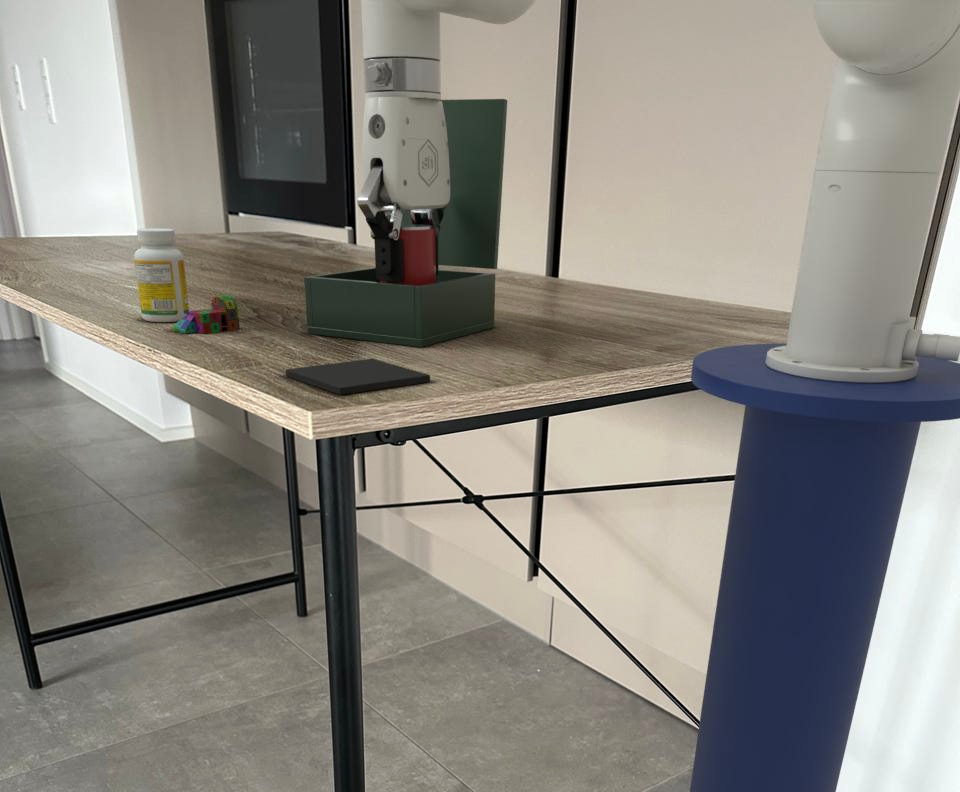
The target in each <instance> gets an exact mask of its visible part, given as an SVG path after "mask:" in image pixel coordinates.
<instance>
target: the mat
mask: <svg viewBox="0 0 960 792" xmlns="http://www.w3.org/2000/svg"><path fill="white" fill-rule="evenodd" d="M285 377H288V378H290V379H294V380H296V381H299V382H302V383H305V384H307V385H311V386H312V387H313V386H314V387H316V388H319V389H322V390H325V391H328V392H331V393H333V394H336V395H339V396H343V395H350V394H358V393H364V392H370V391H377V390H378V391H379V390H385V389H390V388H391V389H392V388H397V387H405V386H411V385H418V384H425V383H430V382H431V375H430V374H427V373H424V372H421V371H418V370H414V369H410V368H407V367H404V366H399V365H397V364H393V363H389V362H386V361H383V360H379V359H375V358H368V359H366V358H365V359H359V360H351V361H350V360H349V361H343V362H342V361H341V362H334V363H325V364H318V365H311V366H303V367H294V368H287V369H285Z"/></svg>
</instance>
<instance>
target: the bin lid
mask: <svg viewBox="0 0 960 792" xmlns="http://www.w3.org/2000/svg"><path fill="white" fill-rule="evenodd" d="M441 101H442V104H443V109H444V114H445V121H446V128H447V138H448V151H449V167H450V201H449V203H448V204H447V206H446V208H445V211H444V216H443V219H442V221H441V223H440V227H441V233H440V235H439V236H438V266H447V267H460V268H471V269H472V268H474V269H486V270H498V262H499V247H500V246H499V245H500V230H501V216H502V215H501V212H502V197H503V181H504V180H503V179H504V162H505V150H506V149H505V148H506V147H505V146H506V133H507V131H506V130H507V115H508V113H507V112H508V99H506V98H473V99H472V98H469V99H465V98H464V99H462V98H461V99H460V98H459V99H441ZM420 214H421V218H422V217H423V215H424V213H420ZM386 217H387V218H388V220H389V222H390V221H391V215H386ZM401 224H412V220H411V216H410V212H409V210H405V209H404V210H403V216H402V222H401Z"/></svg>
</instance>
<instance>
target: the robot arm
mask: <svg viewBox="0 0 960 792" xmlns="http://www.w3.org/2000/svg"><path fill="white" fill-rule="evenodd" d="M536 1H537V0H360V9H361V12H360V13H361V30H362V31H361V33H362V34H361V35H362V54H363V55H362V56H363V57H362V58H363V75H364V76H363V77H364V81H363V82H364V99H365V100H364V107H363V108H364V109H363V121H362V146H361V149H362V150H361V151H362V155H361V156H362V157H361V159H362V161H361V162H362V163H361V164H362V165H361V166H362V188H361V190H360V193H359V195H358V197H357V206H358V207H359V209H360V211H361V212H362V214H363V216H364V217H365V221H366V223H367V225H368V227H369V229H370V237H371V239H373V240H374V241H373V243H374V261H375V263H374V264H375V265H374V267H376V278H377V280H379V281H393V282H401V281H403V280H404V255H403V240H397V239H398V238H399V233H400V227H401V222H402V216H403V210H404V209H405V210H409V212H410V216H411V220H412V224H425V225H432V228H434V229H435V249H436V276H437V275H438V273H439V269H440V268H439V265H438V236H439V235H440V233H441V227H440V223H441V221H442V219H443V216H444V211H445V208H446V206H447V204H448V203H449V201H450V167H449V151H448V138H447V128H446V121H445V114H444V109H443V104H442V101H441V100H442V92H441V91H442V89H441V87H442V85H441V83H442V81H441V74H442V73H441V13H443V14H446V15H447V14H448V15H451V16H455V17H460V18H465V19H471V20H475V21H479V22H482V23H483V22H484V23H486V24H493V25H506V24H509V23H511V22H514V21H516V20H518V19H519V18H521V17H522V16H523V15H524V14H526V13H527V11H528V10H529V9H530V8H531V7H532V6H533V5H534V4H535V2H536ZM812 6H813V15H814V19H815V22H816V25H817V28H818V31H819V34H820V35H821V37H822V40H823V42H825V44H826V45H827V47H828V48H829V49H830V51H831V52H833V53H834V55H836V56H837V59H836V64H835V69H834V73H833V77H832V80H831V81H832V82H831V86H830V89H829V93H828V97H827V103H826V107H825V110H824V116H823V119H822V124H821V131H820V135H819V141H818V146H817V152H816V159H815V165H814V170H813V175H812V182H811V188H810V194H809V201H808V206H807V212H806V219H805V225H804V232H803V238H802V243H801V250H800V257H799V263H798V270H797V275H796V281H795V288H794V294H793V300H792V307H791V312H790V313H791V314H790V319H789V325H788V332H787V339H786V343H785V344H786V346H781V347H776V348H773V349H770V350H769V351H768V352H767V356H766V362H765V363H766V365H767V366H768V367H769V368H771V369H773V370H775V371H778V372H781V373H785V374H788V375H793V376H797V377H803V378H809V379H816V380H823V381H833V382H845V383H892V382H900V381H906V380H909V379H912V378H914V377H915V376H916V375H917V371H918V367H919V363H918V362H917V361H916V358H917V356H918V357H928V358H935V359H938V360H948V361H952V362H958V361H959V359H960V336H956V335H950V334H939V333H933V334H931V333H923V329H918V328H917V329H915V325H916V320H917V317H916V316H910V314H911V309H912V306H913V301H914V296H915V292H916V287H917V282H918V277H919V273H920V268H921V263H922V259H923V254H924V250H925V245H926V240H927V236H928V231H929V226H930V221H931V217H932V212H933V208H934V203H935V197H936V194H937V188H938V184H939V179H940V176H941V175H940V174H942V169H943V164H944V159H945V154H946V150H947V146H948V140H949V136H950V133H951V127H952V123H953V118H954V114H955V111H956V106H957V103H958V98H959V95H960V94H959V93H960V0H812ZM420 213H424V215H423V217H422V218H421V214H420ZM386 215H391V221H390V222H389V220H388V218H387V217H386Z"/></svg>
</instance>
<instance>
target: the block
mask: <svg viewBox="0 0 960 792" xmlns="http://www.w3.org/2000/svg"><path fill="white" fill-rule="evenodd" d="M210 307H211V308H204V309H195V310H189V311H187V315H186V316H185V317H183V318H182V319H181V320H180V321H177V322H175V323H174V325H172V326H171V327H170V330H171V331H172V332H174V333H181V334H193V333H194V334H195V333H197V334H203V335H206V334H214V333H221V332H223V327H226V331H228V332H229V331H236V330H240V329H241V327H240V317H239V316H240V315H239V308H238V304H237V301H236V300H235V298H234V297H233V295H219V296H218V295H217V296H214V297H213V298H212V300H211V305H210Z"/></svg>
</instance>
